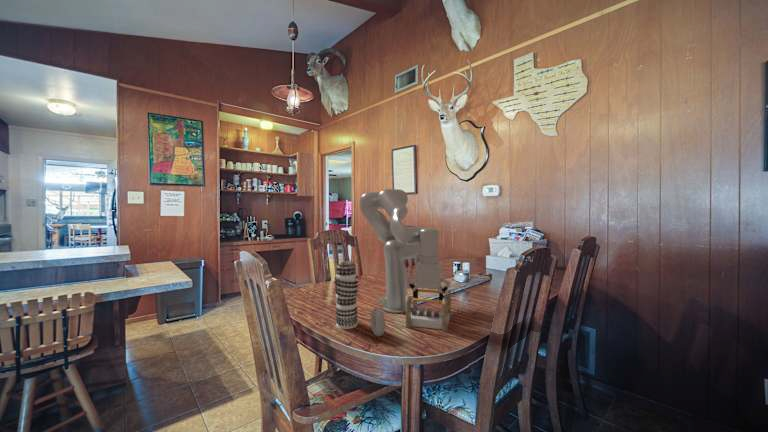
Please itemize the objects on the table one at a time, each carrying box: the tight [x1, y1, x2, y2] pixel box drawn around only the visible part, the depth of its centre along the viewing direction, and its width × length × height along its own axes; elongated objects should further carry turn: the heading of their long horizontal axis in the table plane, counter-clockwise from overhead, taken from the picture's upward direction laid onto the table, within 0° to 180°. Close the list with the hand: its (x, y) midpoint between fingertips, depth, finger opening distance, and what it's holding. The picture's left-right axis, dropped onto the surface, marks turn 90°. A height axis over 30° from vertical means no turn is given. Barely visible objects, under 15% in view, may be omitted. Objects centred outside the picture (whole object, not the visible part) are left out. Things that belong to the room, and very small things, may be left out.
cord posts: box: [405, 289, 452, 333], centre depth 122 cm, size 16×15×12 cm
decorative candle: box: [334, 260, 359, 330], centre depth 121 cm, size 9×9×25 cm
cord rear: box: [417, 288, 446, 295], centre depth 128 cm, size 13×1×1 cm, turn 73°
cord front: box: [410, 297, 443, 304], centre depth 116 cm, size 13×1×1 cm, turn 73°
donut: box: [370, 307, 386, 337], centre depth 111 cm, size 10×4×10 cm, turn 19°
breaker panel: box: [411, 307, 450, 330], centre depth 122 cm, size 15×10×5 cm, turn 73°
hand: (428, 301), depth 123 cm, fingers open, 9 cm apart
